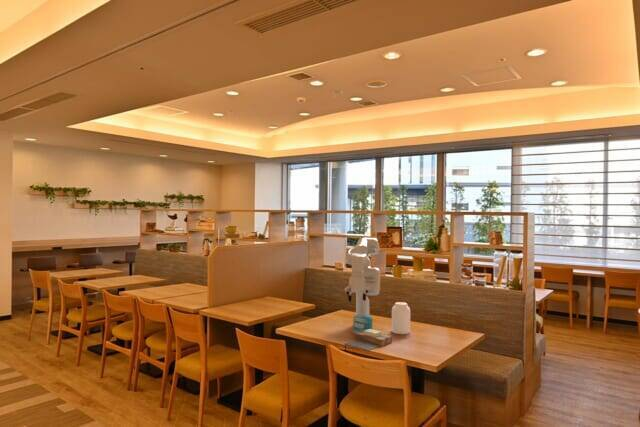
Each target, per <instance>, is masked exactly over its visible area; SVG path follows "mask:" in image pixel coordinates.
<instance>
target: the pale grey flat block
mask: <svg viewBox="0 0 640 427" xmlns="http://www.w3.org/2000/svg"><path fill="white" fill-rule="evenodd" d="M381 333H382V331H381V330H376V329H373V328H372V329H367V330H365V331H364V335H368V336H372V337H378V336H381Z"/></svg>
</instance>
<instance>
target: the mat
mask: <svg viewBox="0 0 640 427" xmlns="http://www.w3.org/2000/svg"><path fill="white" fill-rule="evenodd" d="M344 345H346V346H350V347H354V348H357V349H362V350H364V351H371V350H374V349H377V348H379V347H381V346H380V345H376V344H372V343H368V342H364V341H360V340H355V339H354V340H351V341H348V342H345V343H344Z"/></svg>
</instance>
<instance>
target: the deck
mask: <svg viewBox="0 0 640 427" xmlns="http://www.w3.org/2000/svg"><path fill="white" fill-rule="evenodd" d="M364 331H365V330H364ZM364 331H361V332H358V333H354V340H360V341H364V342H368V343H372V344H376V345H380V346H379V347H383V346H386V345H388V344H391V343H393V336H392V335H390V334H386V333H383V332H381V336H378V337H372V336H368V335H364Z"/></svg>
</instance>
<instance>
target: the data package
mask: <svg viewBox="0 0 640 427" xmlns="http://www.w3.org/2000/svg"><path fill="white" fill-rule="evenodd" d="M352 322H353V326H352V328H353V331H352V332H353V334H355V333H358V332H361V331H364V330H367V329H372V330H373V317H372V316H371V315H369V316H364V315H356V314H355V315H354V316H353V321H352Z"/></svg>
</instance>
